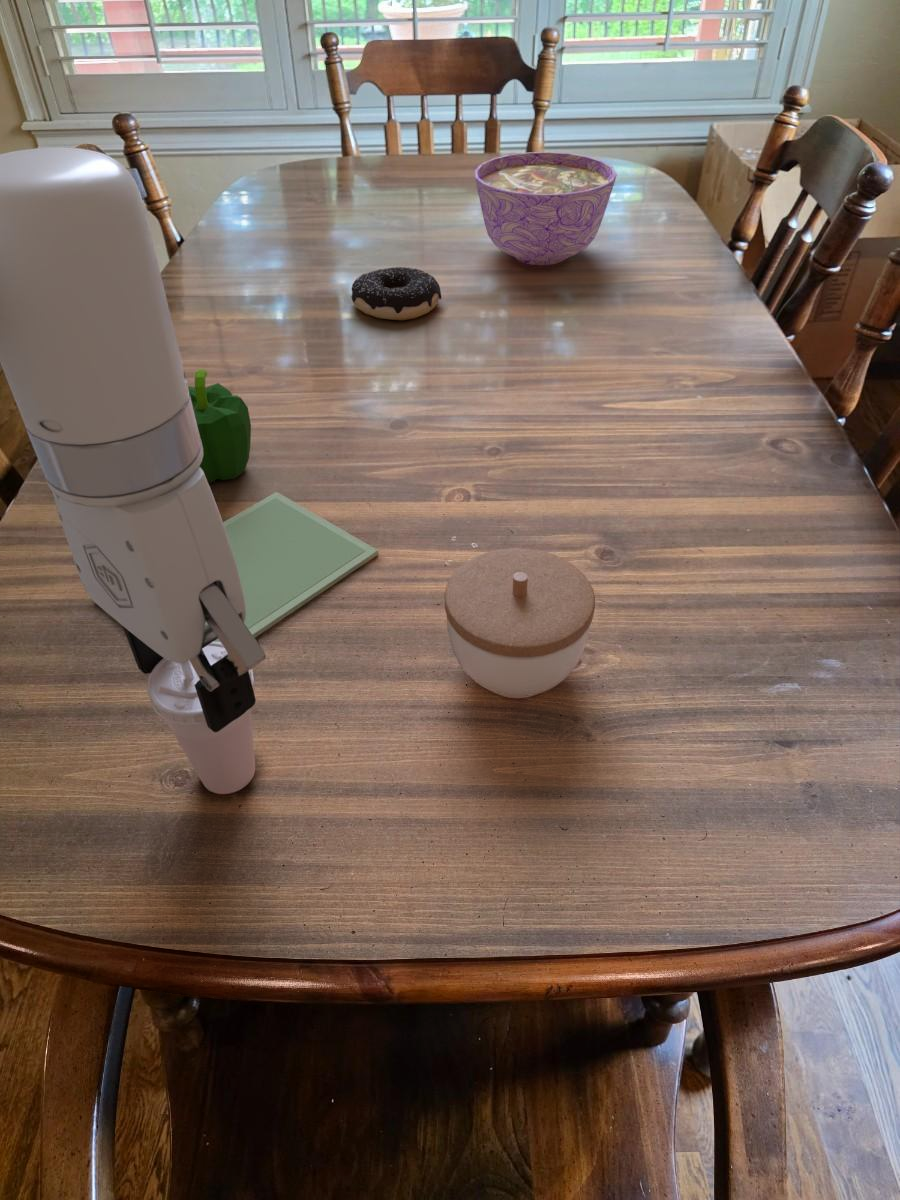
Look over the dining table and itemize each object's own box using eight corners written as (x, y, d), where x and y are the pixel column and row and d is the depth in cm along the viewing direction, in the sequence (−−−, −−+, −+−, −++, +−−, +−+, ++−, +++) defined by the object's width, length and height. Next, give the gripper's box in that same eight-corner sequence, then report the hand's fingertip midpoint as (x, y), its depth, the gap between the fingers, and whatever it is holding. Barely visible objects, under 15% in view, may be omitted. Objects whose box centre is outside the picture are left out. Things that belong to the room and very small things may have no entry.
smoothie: (173, 753, 61) (119, 606, 52) (262, 724, 63) (225, 578, 54) (190, 824, 57) (135, 678, 48) (285, 791, 59) (250, 644, 49)
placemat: (194, 679, 67) (192, 674, 66) (95, 600, 74) (93, 595, 73) (378, 554, 78) (378, 549, 77) (277, 495, 85) (276, 491, 84)
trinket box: (614, 683, 66) (630, 590, 59) (499, 745, 61) (502, 652, 55) (529, 603, 72) (535, 512, 66) (420, 655, 68) (415, 563, 62)
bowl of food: (532, 222, 140) (536, 143, 132) (635, 252, 130) (645, 169, 122) (446, 257, 130) (444, 174, 122) (550, 293, 119) (555, 205, 111)
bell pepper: (236, 500, 84) (215, 408, 77) (161, 486, 86) (135, 396, 79) (273, 454, 90) (257, 365, 83) (203, 443, 92) (181, 355, 85)
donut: (419, 329, 111) (418, 299, 109) (337, 316, 115) (334, 286, 112) (451, 296, 119) (450, 267, 116) (373, 284, 122) (371, 256, 120)
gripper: (-41, 409, 44) (69, 655, 56) (155, 547, 36) (235, 803, 48) (91, 357, 48) (166, 596, 60) (295, 469, 40) (336, 722, 52)
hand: (196, 685), depth 54 cm, fingers closed on smoothie, 6 cm apart
